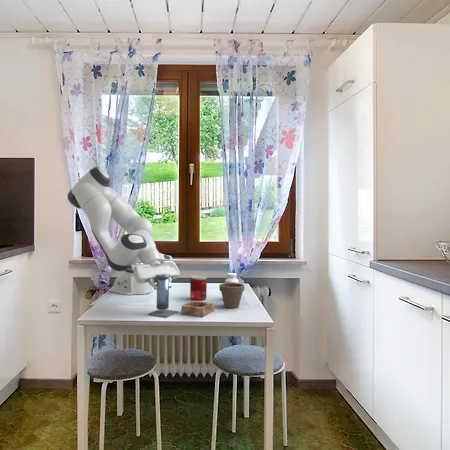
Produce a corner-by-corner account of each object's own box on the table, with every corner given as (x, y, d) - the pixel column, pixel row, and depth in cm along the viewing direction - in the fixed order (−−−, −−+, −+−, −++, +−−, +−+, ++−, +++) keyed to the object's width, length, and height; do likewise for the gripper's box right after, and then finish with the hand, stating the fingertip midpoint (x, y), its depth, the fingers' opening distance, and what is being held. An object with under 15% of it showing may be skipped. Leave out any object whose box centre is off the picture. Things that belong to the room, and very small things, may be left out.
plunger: (152, 308, 165) (153, 275, 164) (160, 305, 170) (160, 273, 170) (164, 310, 162) (165, 276, 162) (172, 307, 168) (172, 274, 167)
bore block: (181, 314, 167) (181, 305, 166) (192, 308, 176) (192, 300, 176) (202, 317, 163) (203, 308, 163) (213, 311, 172) (213, 303, 172)
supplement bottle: (238, 298, 197) (238, 272, 196) (238, 301, 190) (238, 275, 189) (224, 298, 197) (225, 272, 196) (224, 301, 190) (224, 274, 190)
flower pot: (228, 302, 188) (228, 281, 188) (248, 306, 182) (249, 284, 181) (213, 307, 179) (214, 285, 178) (234, 311, 172) (235, 288, 172)
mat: (148, 314, 164) (148, 313, 164) (160, 309, 173) (160, 308, 173) (166, 317, 161) (166, 316, 161) (178, 312, 169) (178, 311, 169)
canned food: (204, 301, 189) (204, 278, 189) (188, 300, 191) (188, 277, 190) (208, 297, 197) (208, 275, 196) (192, 296, 198) (192, 274, 198)
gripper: (132, 259, 164) (143, 286, 157) (174, 255, 177) (186, 281, 170) (127, 268, 168) (138, 295, 161) (168, 264, 181) (180, 289, 174)
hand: (163, 288), depth 166 cm, fingers closed on plunger, 5 cm apart
